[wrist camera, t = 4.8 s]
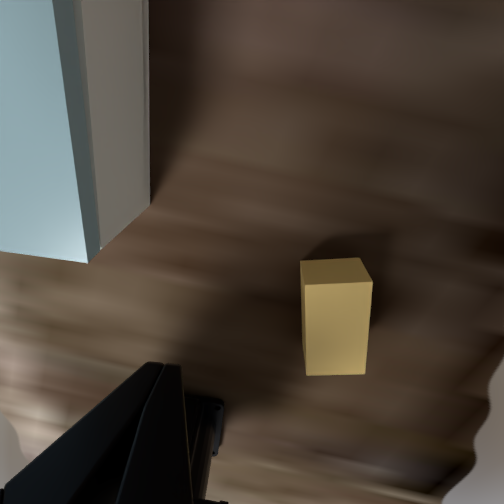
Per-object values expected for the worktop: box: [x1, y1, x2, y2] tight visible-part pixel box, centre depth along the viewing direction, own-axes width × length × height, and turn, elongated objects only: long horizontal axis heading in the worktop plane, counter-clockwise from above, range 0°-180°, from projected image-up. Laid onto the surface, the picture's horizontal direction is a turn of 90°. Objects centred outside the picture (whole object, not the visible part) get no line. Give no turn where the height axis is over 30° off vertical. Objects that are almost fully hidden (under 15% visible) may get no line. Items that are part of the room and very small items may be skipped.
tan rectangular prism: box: [300, 258, 373, 376], centre depth 20 cm, size 6×4×3 cm, turn 5°
